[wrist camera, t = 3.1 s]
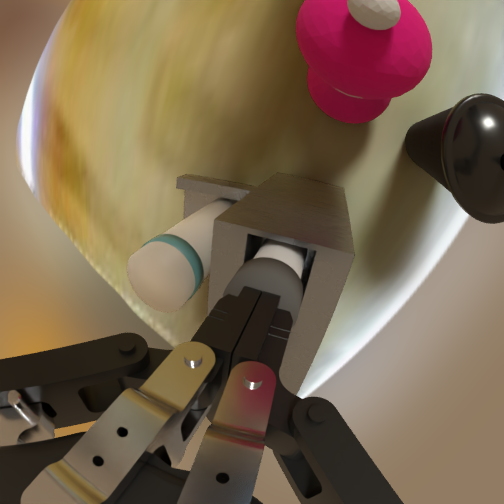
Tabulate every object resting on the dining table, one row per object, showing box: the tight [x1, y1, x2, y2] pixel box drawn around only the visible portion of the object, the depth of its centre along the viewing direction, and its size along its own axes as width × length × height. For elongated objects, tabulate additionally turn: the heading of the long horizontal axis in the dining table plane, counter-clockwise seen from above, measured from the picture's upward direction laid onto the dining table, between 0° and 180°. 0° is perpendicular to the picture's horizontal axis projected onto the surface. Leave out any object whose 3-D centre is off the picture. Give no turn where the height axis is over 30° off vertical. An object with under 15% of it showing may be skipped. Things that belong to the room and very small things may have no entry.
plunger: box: [223, 238, 308, 329], centre depth 14 cm, size 3×3×6 cm
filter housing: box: [176, 172, 355, 395], centre depth 23 cm, size 12×17×16 cm
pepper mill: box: [296, 0, 432, 124], centre depth 13 cm, size 7×7×20 cm
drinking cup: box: [405, 93, 504, 224], centre depth 13 cm, size 8×8×20 cm
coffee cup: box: [127, 197, 238, 312], centre depth 24 cm, size 5×5×14 cm
